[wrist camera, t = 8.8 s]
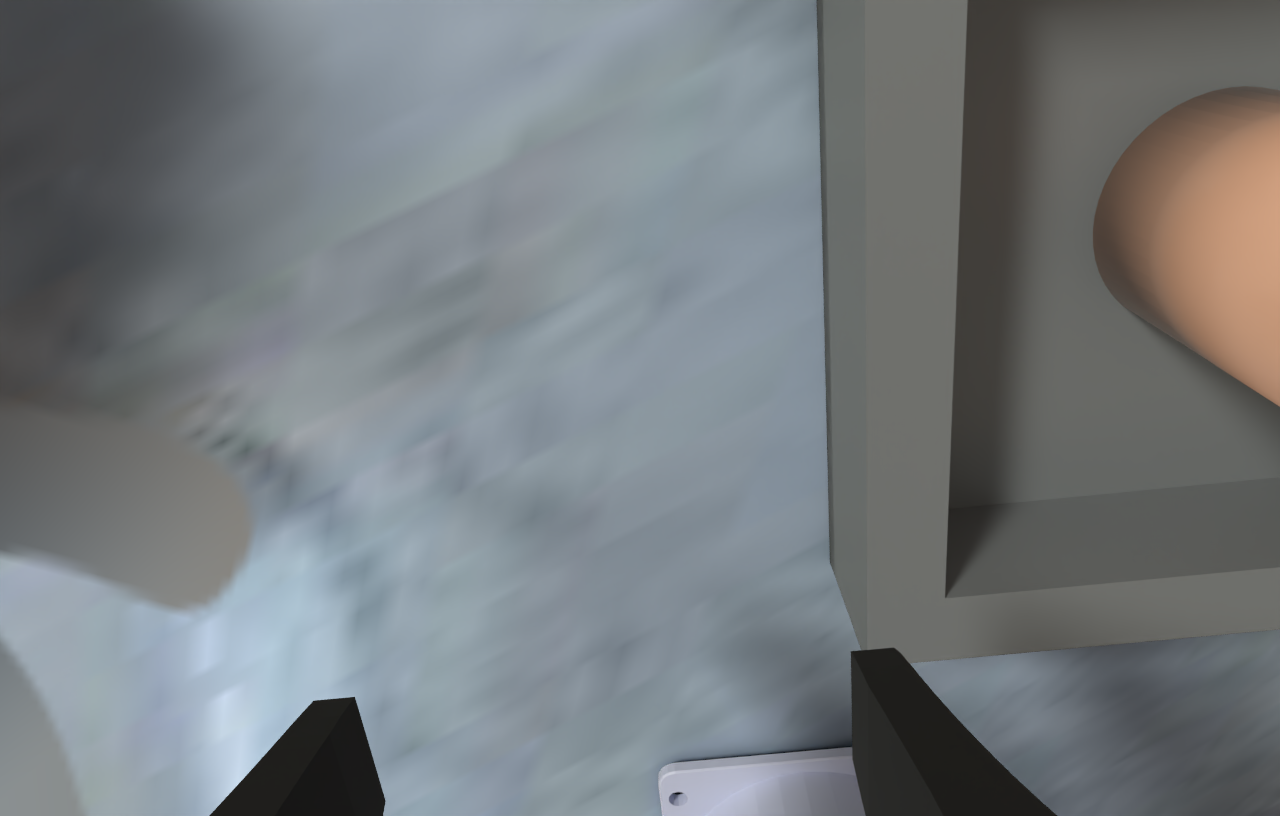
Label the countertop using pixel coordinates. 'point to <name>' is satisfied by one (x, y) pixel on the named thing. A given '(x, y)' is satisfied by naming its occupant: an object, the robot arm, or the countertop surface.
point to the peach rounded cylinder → (1202, 231)
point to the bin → (1025, 335)
